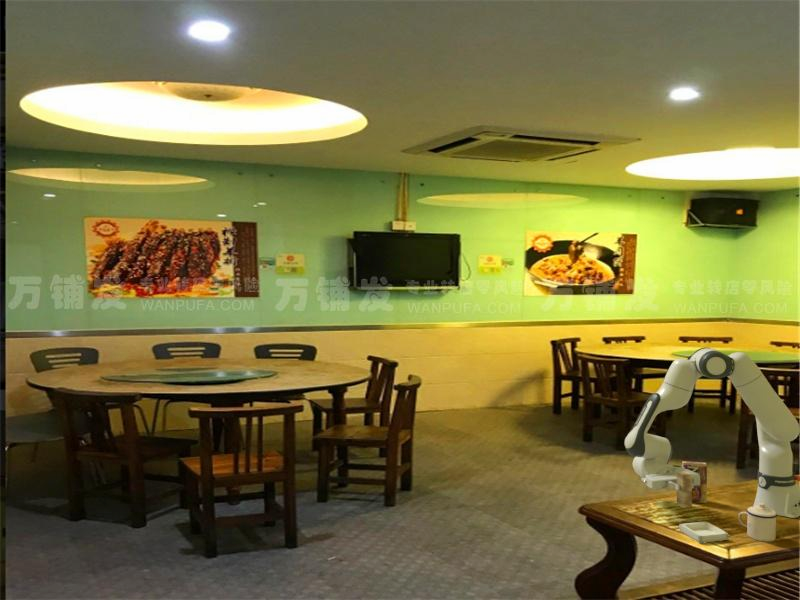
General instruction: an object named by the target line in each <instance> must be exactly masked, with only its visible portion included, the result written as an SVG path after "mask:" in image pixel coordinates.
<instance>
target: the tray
mask: <svg viewBox="0 0 800 600" xmlns="http://www.w3.org/2000/svg"><path fill="white" fill-rule="evenodd" d="M678 528H679V529H678V531H679V530H680V531H681V532H680V531H679V532H680V533H682V532H683V533H684V535H685V536H687V537H688V538H690V539H691V538H692V540H693V539H694V540H693V541H695V540H696V541H697V542H696V541H695V542H696V543H698V542H699V543H701V544H705V543H704V542H710V543H715V542H714V541H720V542H724V541H723V540H728V541H729V533H728V532H727V531H725V530H723V529H722V528H720V527H718V526H716V525H714V524H712V523H711V522H709V521H697V522H696V521H695V522H685V523H679V527H678ZM683 533H682V534H683ZM699 543H698V544H699Z"/></svg>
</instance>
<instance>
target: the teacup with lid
mask: <svg viewBox="0 0 800 600" xmlns="http://www.w3.org/2000/svg"><path fill="white" fill-rule="evenodd" d="M742 515H747V518H746V519H747V520H746V521H747V522H746V523H745V522H744V520H743V519H742ZM777 516H778V515H777V514H776V512H775V511H774V510H772V509H769V508H768V507H766V506H765V504H764V503H759V505H757V506H753V505H752V506H749V507H748V508H747V509H746V511H741V512H739V513H738V520H739V522H740V524H741V525H742V526H744V527H746V528H747V529H746V530H747V531H746V534H747V536H748V537H749V538H751V539H753V540H754V541H755V540H756V541H759V542H774V541H775V540H776V538H777V537H776V532H777V531H776V530H777Z"/></svg>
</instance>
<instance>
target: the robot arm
mask: <svg viewBox="0 0 800 600" xmlns="http://www.w3.org/2000/svg"><path fill="white" fill-rule="evenodd" d="M702 377H706V378H709V379H711V380H712V379H713V380H714V379H722V378H725V377H727V378H728V380H729V381H730V382H731V383H732V385H733V387H734V388H735V390H736V391H737V392H738V394H739V396H740V397H741V399H742V400H743V402H744V403H745V404H746V406H747V407H748V409H749V410H750V411H751V412H752V414H753V415H754V416H755V421H756V430H757V431H756V432H757V440H758V447H759V448H758V450H759V451H758V453H759V462H758V467H759V468H758V470H757V489H756V495H755V499H754V503H753V505H752V506H757V505H759V503H764V504H765V506H766V507H768V508H769V509H772V510H774V511H775V512H776V514H777V516H782V517H787V518H792V519H796V518H800V517H799V516H800V486H799V484H797V482H800V475H798V474H795V475H794V473H793V463H794V462H793V459H794V456H793V455H794V454H793V451H792V447H791V442H793V441H794V440H795V439H797V437H799V435H800V424H799V422H798V420H797V418H795V416H794V415H793V413H792V412H791V411H790V409H789V407H787V405H786V404H785V403H784V401H783V400H782V399H781V397H780V396H779V395H778V394H777V392H776V391H775V389H774V388H773V387H772V385H771V384H770V382H769V381H768V379H767V378H766V376H765V375H764V374H763V372H762V371H761V369H760V368H759V367H758V365H757V364H756V363H755V361H753V359H752V358H751V357H750V356H749V355H748V354H747V353H746V352H743V351H742V352H741V351H736V352H732V353H731V354H728V355H727V354H726V353H723V352H721V351H719V350H717V349H716V348H711V347H701V348H699V349H696V350H695V351H694V352H693V353H692V354H691V355H690V356H688V357H687V358H684V357H683V358H677V359H674V360H673V361H672V363H671V365H670V366H669V368H668V370H667V372H666V374H665V376H664V379H663V382H662V383H661V385H660V387H659V389H658V390H657V391H656V392H655V393H652V394H651V395H650V396H649V397H648V399H647V400H646V402H645V403H644V405H643V408H642V409H641V410H640V413H639V414H638V417H637V419H636V420H635V422H634V425H633V426H632V428H631V429H630V430H629V432H628V433H627V434H626V436H625V438H624V442H623V445H624V448H625V450H626V451H627V453H628V454H629V456H631V457H634V458H633V461H632V468H633V470H634V472H635V474H637V475H638V476H639V477H641V478H640V480H641V481H642V482H643V483H644V484H645V485H646V486H647V487H648V488H650V489H652V490H655V491H656V490H667V489H671V490H673V489H675V490H676V491H677V490H681V485H680V484H677V472H681V471H686V472H688V473H691V474H692V488H694V486H696V485H700V476H699V475H698V474H697V473H695V472H693V471H690V470H688V469H685V467H684V466H682V465H676V464H669V463H670V461H671V458H672V455H673V446H672V444H671V441H670V440H669V439H668V438H667V437H662V436H659V435H656V434H652V433H648V431H649V430H650V427H651V426H652V425H653V422H654V420H655V418H656V417H657V415H658V414H660V413H662V412H666V411H671V410H677V409H680V408H681V409H682V408H683V407H684V406H686V405H687V404H688V403H689V401H690V399H691V397H692V394H693V391H694V388H695V384H696V382H697V381H698V380H699V379H700V378H702Z"/></svg>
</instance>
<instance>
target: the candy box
mask: <svg viewBox="0 0 800 600" xmlns="http://www.w3.org/2000/svg"><path fill="white" fill-rule="evenodd" d="M681 463H682V465H681V466H684V467H685V469H688V470H690V471H693V472H695V473H697V474H698V475H699V476H700V485H696V486H694V488H692V503H697V504H698V503H699V504H707V503H708V502H707V501H708V500H707V498H708V465H707V463H706V462H701V461H700V462H699V461H687V460H685V461H684V460H683V461H682V462H681Z"/></svg>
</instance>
